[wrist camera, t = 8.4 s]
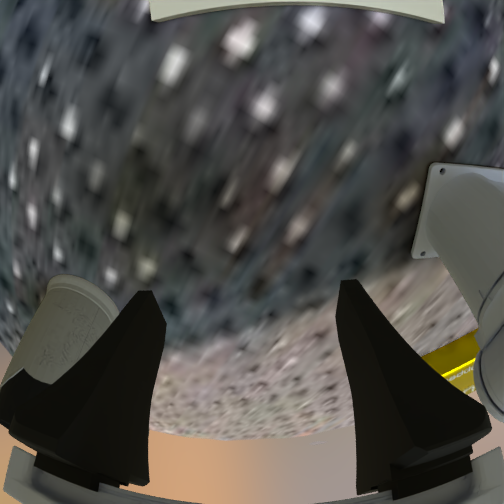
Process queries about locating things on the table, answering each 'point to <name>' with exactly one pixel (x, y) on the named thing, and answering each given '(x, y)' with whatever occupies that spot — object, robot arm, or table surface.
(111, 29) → the table surface
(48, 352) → the glass holder
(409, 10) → the socket board
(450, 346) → the element tile
